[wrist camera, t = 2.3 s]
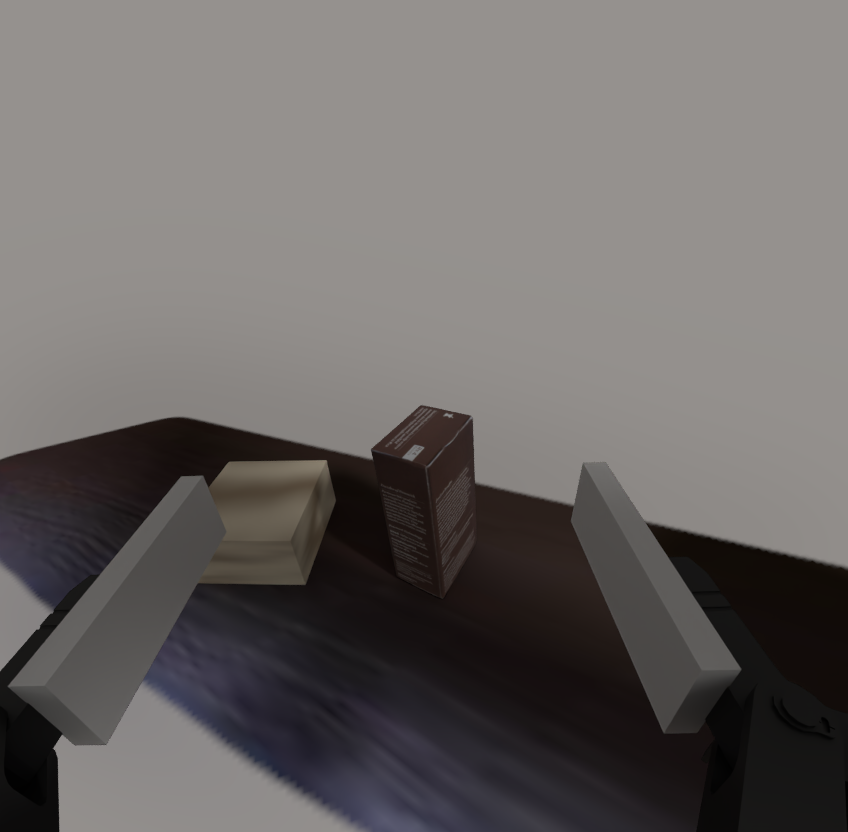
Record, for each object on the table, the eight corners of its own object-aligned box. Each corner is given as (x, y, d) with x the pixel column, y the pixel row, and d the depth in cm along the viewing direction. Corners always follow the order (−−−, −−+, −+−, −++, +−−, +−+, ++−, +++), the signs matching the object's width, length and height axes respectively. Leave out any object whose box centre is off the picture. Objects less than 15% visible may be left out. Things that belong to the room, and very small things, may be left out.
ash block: (306, 587, 29) (290, 540, 27) (193, 585, 30) (166, 540, 28) (336, 502, 37) (326, 460, 35) (245, 502, 38) (229, 461, 35)
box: (430, 523, 34) (420, 401, 28) (478, 543, 32) (479, 415, 25) (389, 577, 29) (367, 446, 23) (441, 604, 27) (433, 468, 21)
